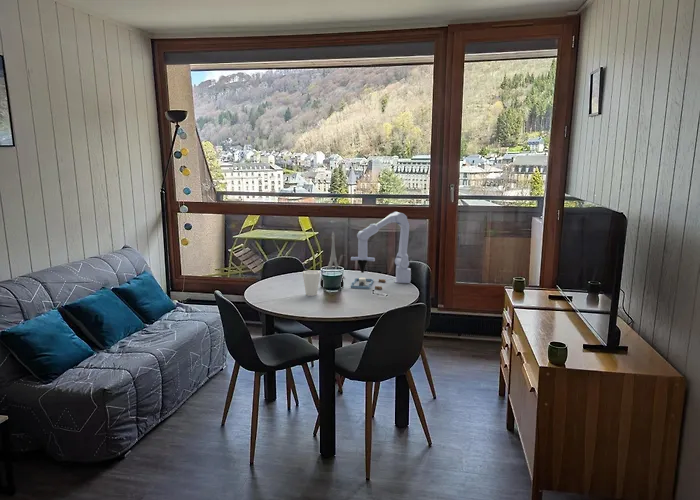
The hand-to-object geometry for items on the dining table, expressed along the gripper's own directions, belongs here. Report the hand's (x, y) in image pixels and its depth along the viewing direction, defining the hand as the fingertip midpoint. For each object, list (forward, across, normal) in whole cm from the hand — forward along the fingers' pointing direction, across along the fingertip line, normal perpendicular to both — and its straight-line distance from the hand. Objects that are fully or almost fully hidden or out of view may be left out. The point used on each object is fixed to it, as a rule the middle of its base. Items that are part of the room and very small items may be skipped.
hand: (362, 272), depth 305 cm
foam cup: (+8, -25, -28) cm, 38 cm away
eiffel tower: (+8, -22, +17) cm, 29 cm away
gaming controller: (+8, -17, -10) cm, 21 cm away
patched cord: (+8, 0, 0) cm, 8 cm away
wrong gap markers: (+8, +11, 0) cm, 14 cm away
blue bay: (+8, 0, 0) cm, 8 cm away
